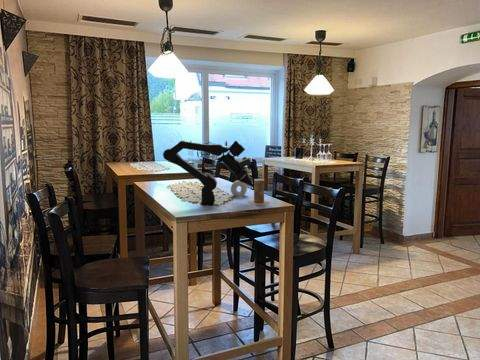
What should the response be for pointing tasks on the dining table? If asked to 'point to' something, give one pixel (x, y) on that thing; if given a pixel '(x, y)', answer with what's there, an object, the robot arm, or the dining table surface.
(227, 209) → the dining table surface
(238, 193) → the donut
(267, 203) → the coaster
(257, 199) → the walnut block
